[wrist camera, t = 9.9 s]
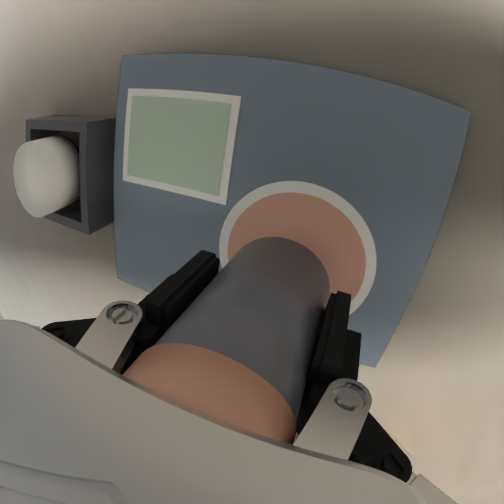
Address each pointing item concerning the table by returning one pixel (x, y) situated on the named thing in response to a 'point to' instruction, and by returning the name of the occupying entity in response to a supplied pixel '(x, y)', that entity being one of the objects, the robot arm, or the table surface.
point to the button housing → (85, 168)
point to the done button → (46, 175)
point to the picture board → (283, 173)
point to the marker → (245, 340)
